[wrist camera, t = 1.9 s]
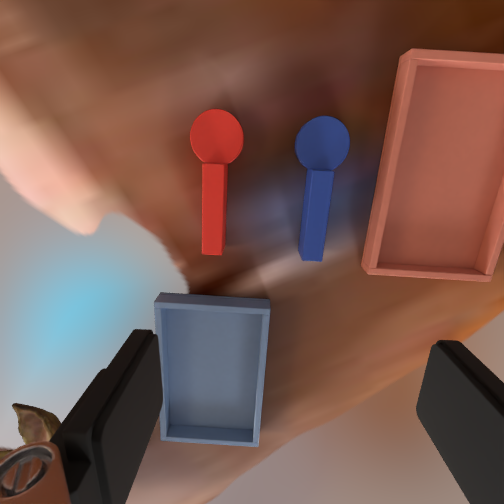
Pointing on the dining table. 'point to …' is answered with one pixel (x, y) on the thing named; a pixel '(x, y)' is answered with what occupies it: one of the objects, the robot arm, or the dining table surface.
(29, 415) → the ceramic sculpture
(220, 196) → the red spoon
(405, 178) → the rose tray
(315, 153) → the blue spoon
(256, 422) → the blue tray
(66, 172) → the dining table surface
